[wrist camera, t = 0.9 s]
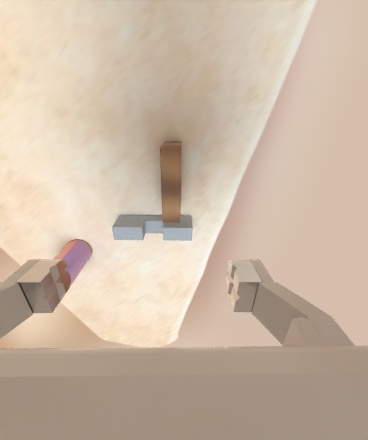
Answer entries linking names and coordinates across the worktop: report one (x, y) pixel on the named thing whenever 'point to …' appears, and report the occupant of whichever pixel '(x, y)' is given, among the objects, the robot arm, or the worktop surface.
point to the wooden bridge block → (171, 181)
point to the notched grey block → (151, 227)
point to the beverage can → (74, 257)
